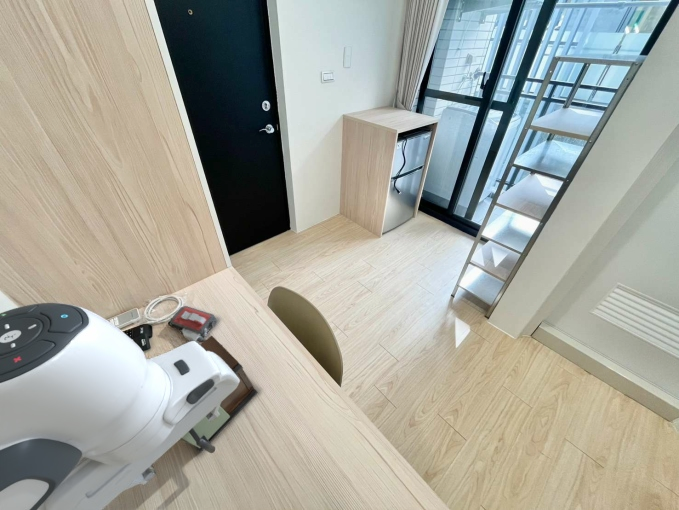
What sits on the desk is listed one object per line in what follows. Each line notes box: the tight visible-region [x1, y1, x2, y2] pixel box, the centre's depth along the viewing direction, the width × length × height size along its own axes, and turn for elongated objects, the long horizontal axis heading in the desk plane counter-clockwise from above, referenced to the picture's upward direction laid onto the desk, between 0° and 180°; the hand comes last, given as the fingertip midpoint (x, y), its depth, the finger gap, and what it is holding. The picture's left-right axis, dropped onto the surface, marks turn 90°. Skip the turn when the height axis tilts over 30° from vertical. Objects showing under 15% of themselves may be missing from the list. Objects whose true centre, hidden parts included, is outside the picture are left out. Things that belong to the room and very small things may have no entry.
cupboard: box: [179, 335, 259, 454], centre depth 60 cm, size 16×11×16 cm
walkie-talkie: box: [167, 305, 217, 344], centre depth 79 cm, size 9×4×20 cm
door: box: [182, 407, 230, 454], centre depth 55 cm, size 8×5×13 cm, turn 141°
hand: (183, 442), depth 38 cm, fingers open, 8 cm apart
